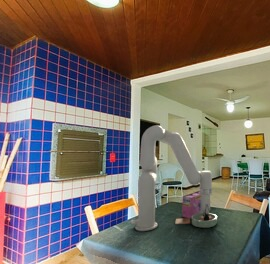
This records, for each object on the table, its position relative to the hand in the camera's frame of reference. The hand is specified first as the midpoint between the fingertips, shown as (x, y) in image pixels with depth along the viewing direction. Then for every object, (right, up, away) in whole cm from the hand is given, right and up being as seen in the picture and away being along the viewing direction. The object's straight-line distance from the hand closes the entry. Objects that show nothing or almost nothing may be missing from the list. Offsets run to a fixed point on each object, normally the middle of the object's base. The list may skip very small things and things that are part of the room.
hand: (206, 221), depth 121 cm
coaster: (-15, -1, +4) cm, 15 cm away
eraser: (0, 0, 0) cm, 0 cm away
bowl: (-1, -1, 0) cm, 2 cm away
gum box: (-7, -3, +20) cm, 21 cm away
